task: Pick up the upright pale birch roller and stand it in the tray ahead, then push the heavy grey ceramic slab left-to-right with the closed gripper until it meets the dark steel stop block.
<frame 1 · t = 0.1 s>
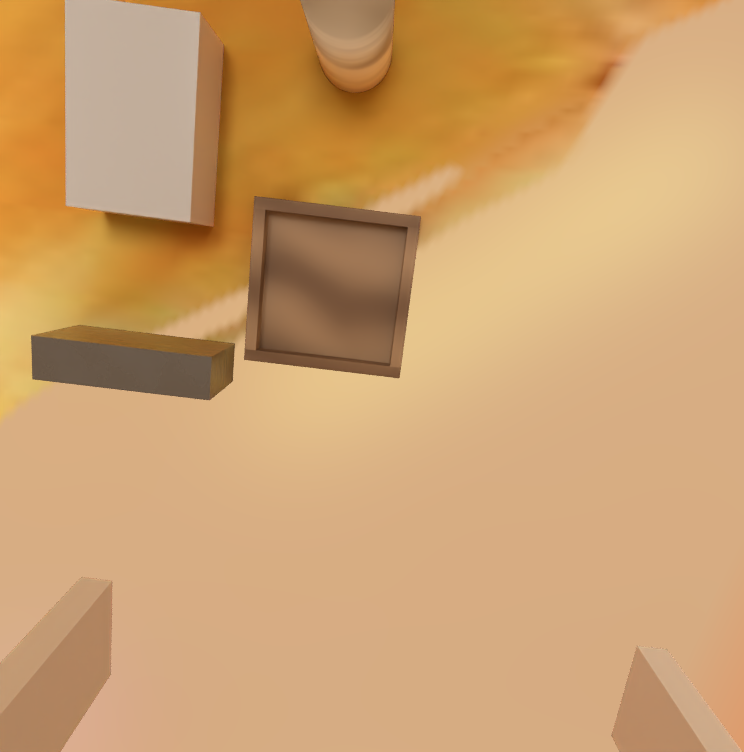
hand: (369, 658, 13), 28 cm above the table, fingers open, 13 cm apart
stop block: (156, 353, 40), on the table
slab: (163, 132, 36), on the table
tray: (331, 289, 38), on the table
roller: (355, 52, 35), on the table
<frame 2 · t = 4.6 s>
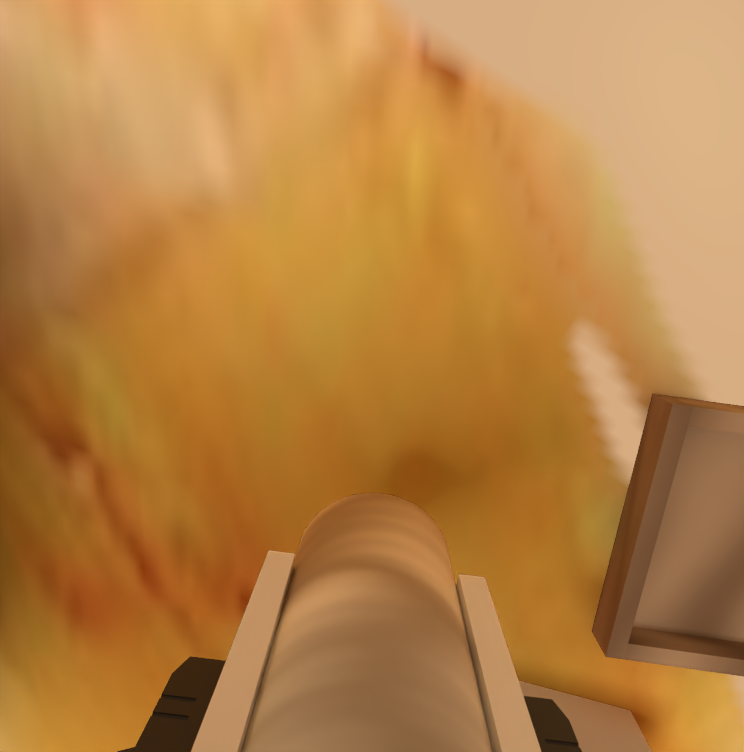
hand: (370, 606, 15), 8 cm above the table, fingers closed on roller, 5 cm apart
slab: (485, 738, 26), on the table
roller: (372, 562, 17), point 6 cm above the table, touching gripper
when the fingers open (2 cm above the table, at t = 8.6 s): roller stays where it is, resting on tray.
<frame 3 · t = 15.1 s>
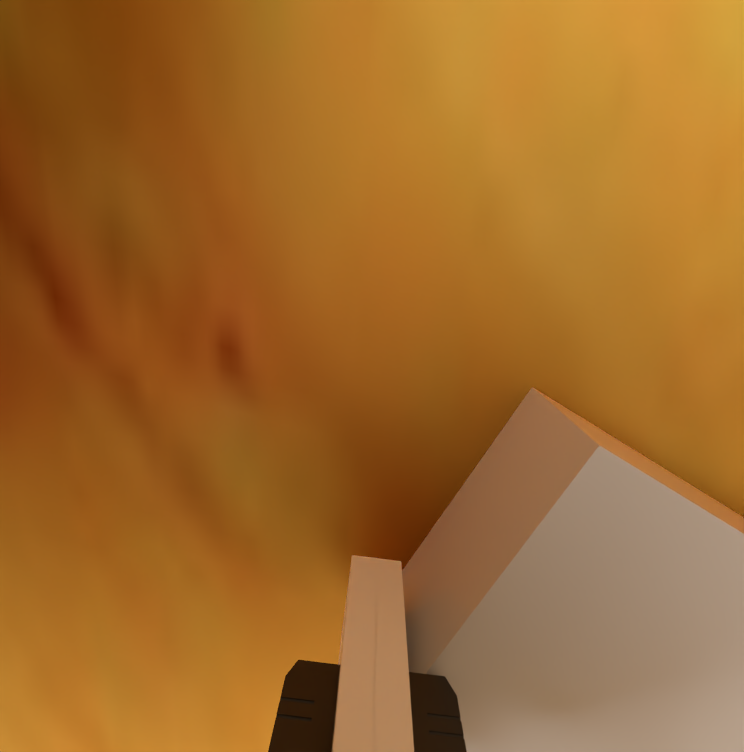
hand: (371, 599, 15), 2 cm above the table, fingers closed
slab: (608, 577, 17), on the table, touching gripper
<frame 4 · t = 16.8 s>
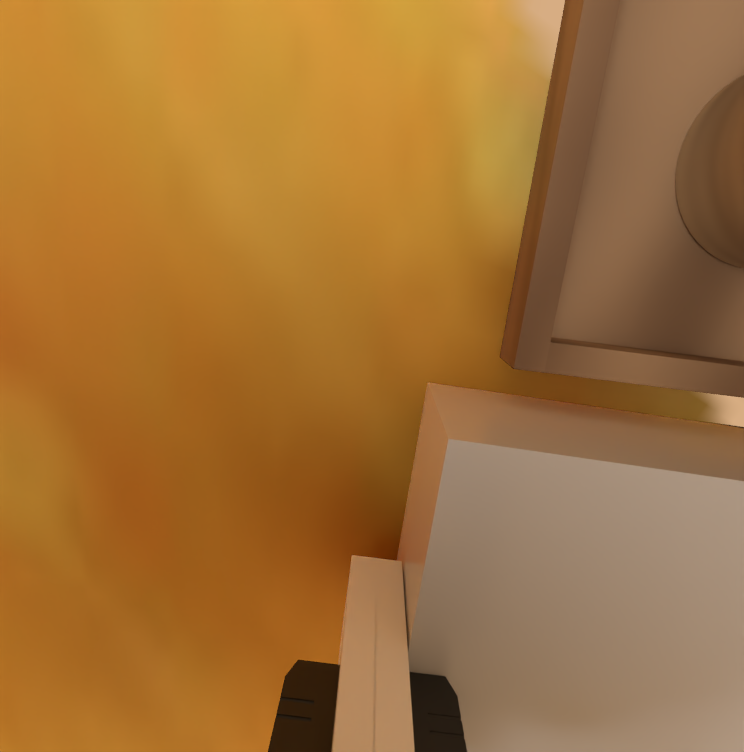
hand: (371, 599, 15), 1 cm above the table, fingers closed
slab: (593, 529, 16), on the table, touching gripper
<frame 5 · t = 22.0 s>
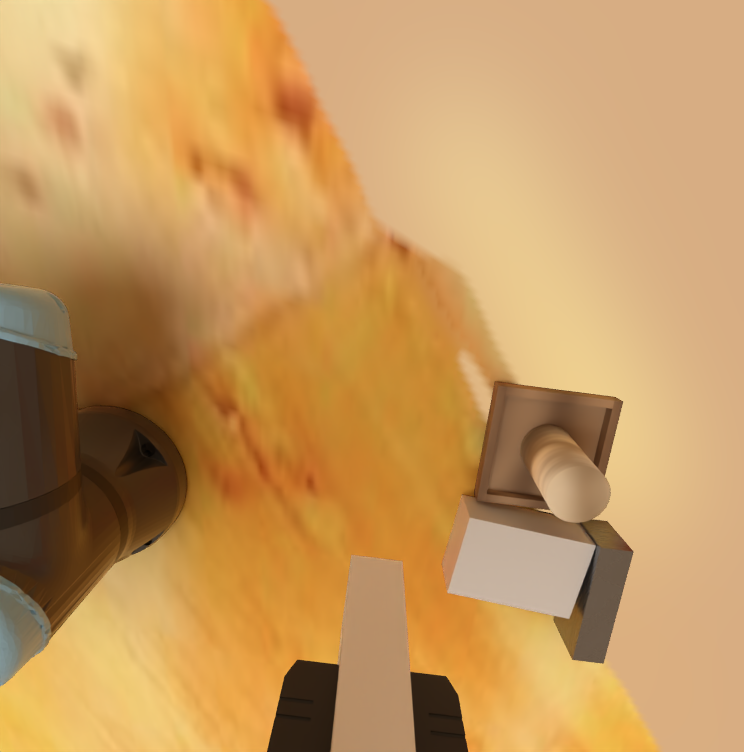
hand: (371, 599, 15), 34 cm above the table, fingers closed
stop block: (579, 572, 53), on the table
slab: (507, 540, 53), on the table
tray: (542, 446, 50), on the table
roller: (546, 449, 50), point 1 cm above the table, touching tray
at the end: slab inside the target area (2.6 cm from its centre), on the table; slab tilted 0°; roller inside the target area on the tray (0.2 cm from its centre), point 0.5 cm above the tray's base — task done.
